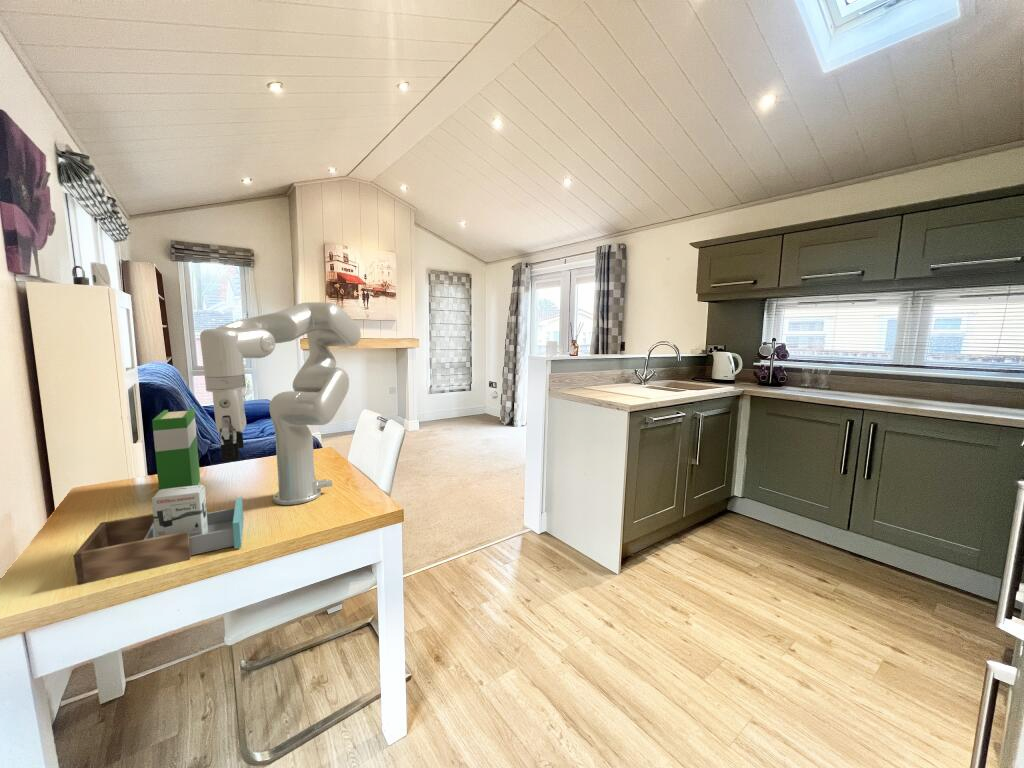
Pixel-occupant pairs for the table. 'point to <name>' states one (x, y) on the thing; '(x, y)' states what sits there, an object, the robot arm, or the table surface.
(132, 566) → the storage unit
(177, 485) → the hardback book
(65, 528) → the table surface
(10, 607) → the table surface
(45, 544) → the table surface
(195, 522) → the ink box
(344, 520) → the table surface
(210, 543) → the tray
